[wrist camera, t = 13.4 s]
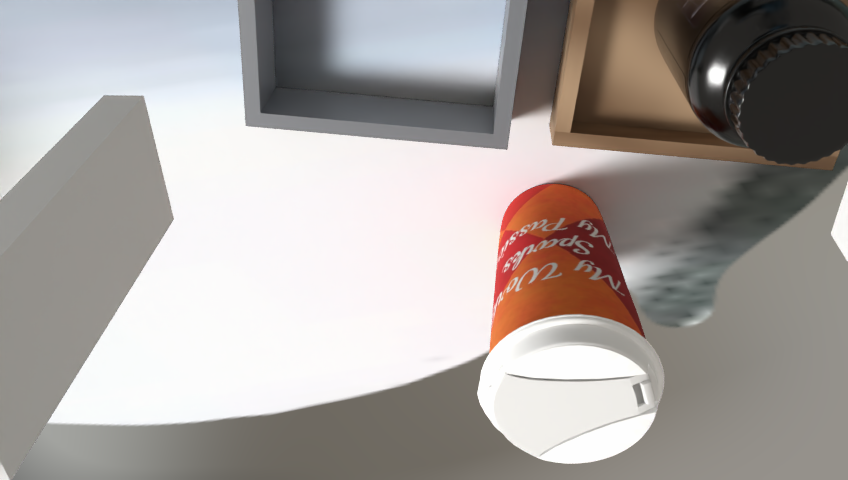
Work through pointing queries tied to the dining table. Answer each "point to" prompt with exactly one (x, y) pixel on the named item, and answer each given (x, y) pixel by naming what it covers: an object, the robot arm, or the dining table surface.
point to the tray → (630, 90)
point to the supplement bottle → (762, 72)
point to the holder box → (374, 112)
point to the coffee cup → (565, 335)
